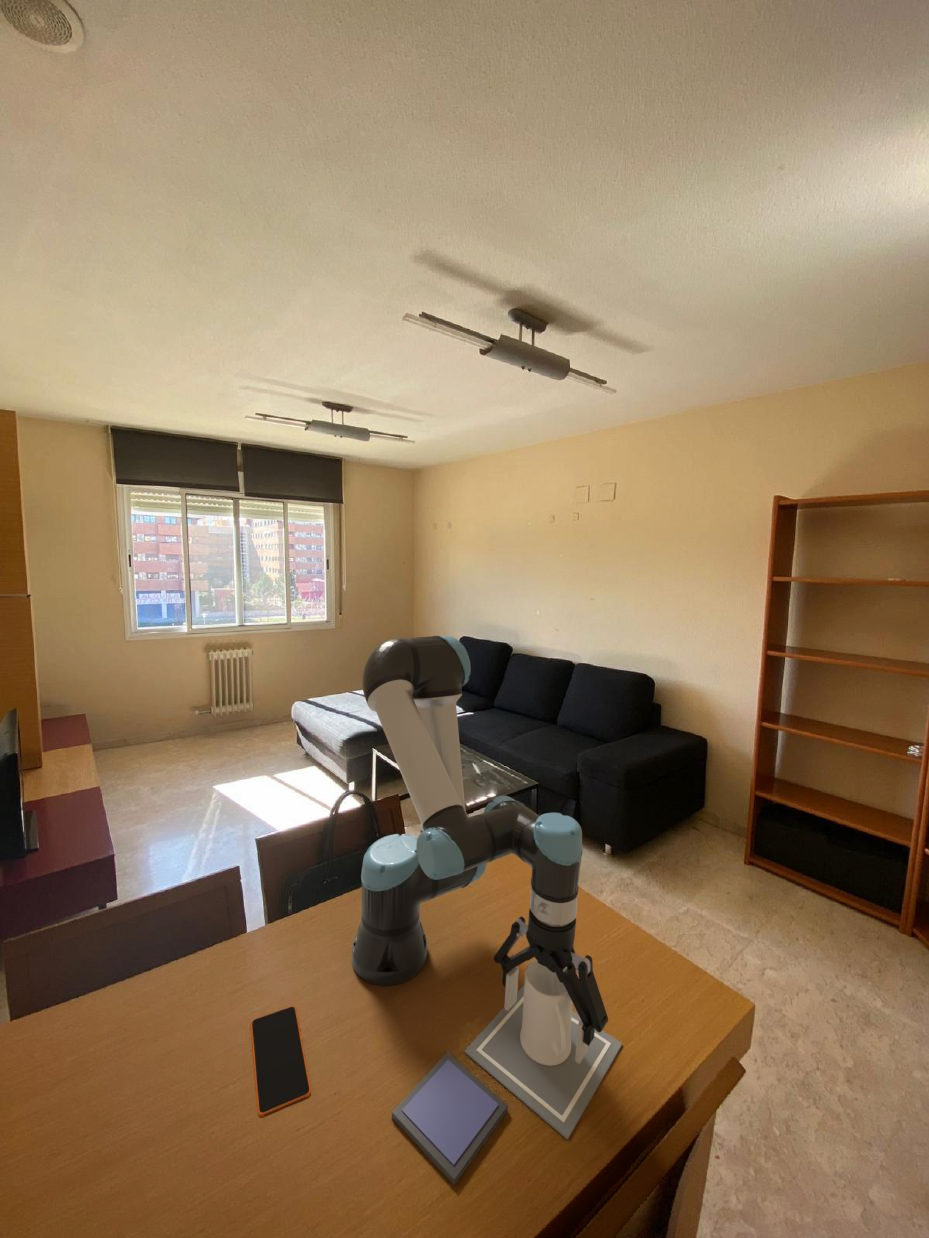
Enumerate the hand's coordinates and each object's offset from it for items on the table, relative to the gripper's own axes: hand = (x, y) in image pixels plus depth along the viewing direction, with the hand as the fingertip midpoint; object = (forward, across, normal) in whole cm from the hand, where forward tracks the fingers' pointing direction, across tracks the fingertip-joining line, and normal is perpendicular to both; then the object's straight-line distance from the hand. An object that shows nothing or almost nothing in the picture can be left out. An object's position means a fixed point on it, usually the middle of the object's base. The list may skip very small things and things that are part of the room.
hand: (544, 1029), depth 84 cm
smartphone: (+4, -31, -30) cm, 43 cm away
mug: (+3, +1, 0) cm, 3 cm away
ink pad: (+3, -5, -18) cm, 19 cm away
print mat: (+3, 0, 0) cm, 3 cm away
